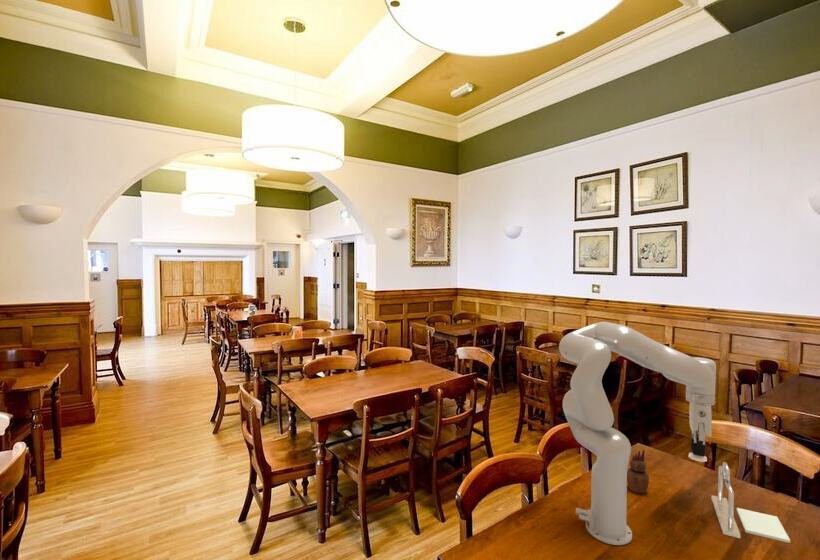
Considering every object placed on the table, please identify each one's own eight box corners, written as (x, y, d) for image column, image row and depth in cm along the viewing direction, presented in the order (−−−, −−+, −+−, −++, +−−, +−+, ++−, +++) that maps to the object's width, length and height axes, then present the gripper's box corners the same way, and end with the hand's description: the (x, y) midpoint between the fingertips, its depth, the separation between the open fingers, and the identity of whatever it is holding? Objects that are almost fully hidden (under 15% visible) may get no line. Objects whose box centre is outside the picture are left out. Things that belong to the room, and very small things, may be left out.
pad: (745, 532, 121) (745, 529, 120) (736, 510, 131) (736, 507, 131) (790, 543, 116) (790, 540, 116) (777, 519, 126) (777, 516, 126)
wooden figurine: (648, 489, 143) (649, 448, 143) (648, 497, 138) (649, 455, 138) (627, 484, 147) (627, 443, 146) (626, 491, 142) (626, 450, 141)
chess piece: (710, 462, 127) (711, 431, 127) (692, 461, 128) (693, 430, 128) (702, 455, 132) (703, 425, 131) (685, 453, 133) (686, 423, 132)
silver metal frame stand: (723, 534, 120) (724, 479, 119) (711, 498, 137) (712, 450, 137) (740, 538, 118) (741, 482, 117) (726, 501, 136) (727, 452, 135)
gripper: (719, 406, 120) (716, 467, 121) (710, 391, 134) (707, 446, 135) (689, 402, 124) (686, 461, 125) (683, 388, 138) (681, 441, 139)
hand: (697, 452), depth 130 cm, fingers closed on chess piece
